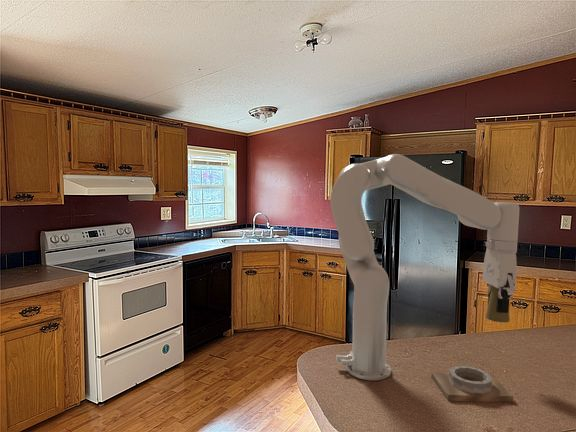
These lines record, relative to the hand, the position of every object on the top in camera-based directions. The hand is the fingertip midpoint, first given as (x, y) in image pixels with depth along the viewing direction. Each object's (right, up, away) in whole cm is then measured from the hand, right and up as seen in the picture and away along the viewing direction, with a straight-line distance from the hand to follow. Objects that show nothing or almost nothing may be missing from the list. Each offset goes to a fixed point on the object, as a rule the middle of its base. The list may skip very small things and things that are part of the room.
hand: (497, 309), depth 111 cm
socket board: (-12, -19, -8) cm, 24 cm away
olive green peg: (0, -3, 0) cm, 3 cm away
